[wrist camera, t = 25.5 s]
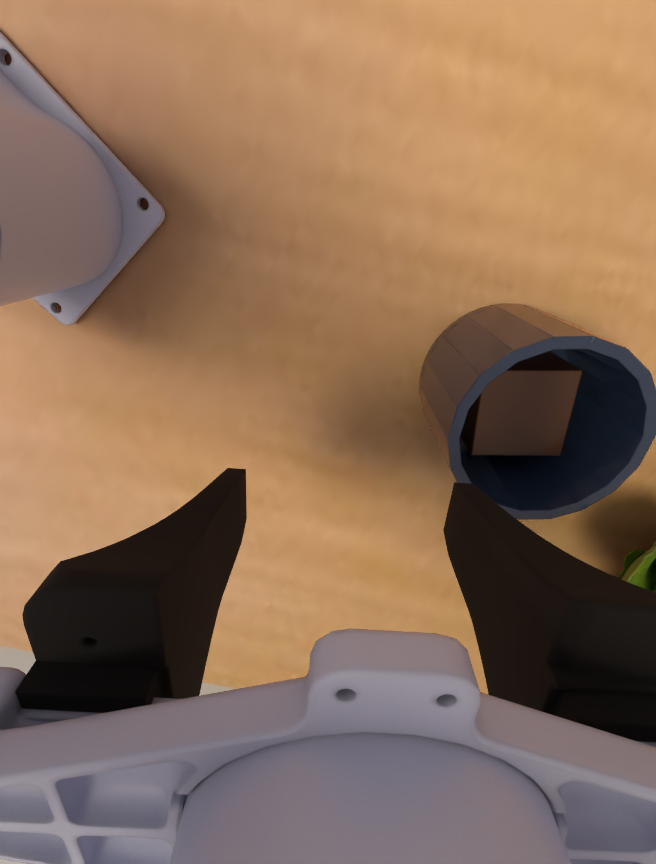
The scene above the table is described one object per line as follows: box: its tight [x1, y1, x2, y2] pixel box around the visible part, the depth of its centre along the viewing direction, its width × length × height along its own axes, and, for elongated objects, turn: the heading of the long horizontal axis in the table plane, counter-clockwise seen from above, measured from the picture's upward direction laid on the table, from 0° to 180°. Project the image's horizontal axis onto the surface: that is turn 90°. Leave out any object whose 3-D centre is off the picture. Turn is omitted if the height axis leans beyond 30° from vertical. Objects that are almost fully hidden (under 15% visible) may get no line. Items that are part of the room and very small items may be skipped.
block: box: [460, 351, 582, 456], centre depth 21 cm, size 4×4×4 cm
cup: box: [419, 304, 656, 520], centre depth 21 cm, size 8×8×7 cm
